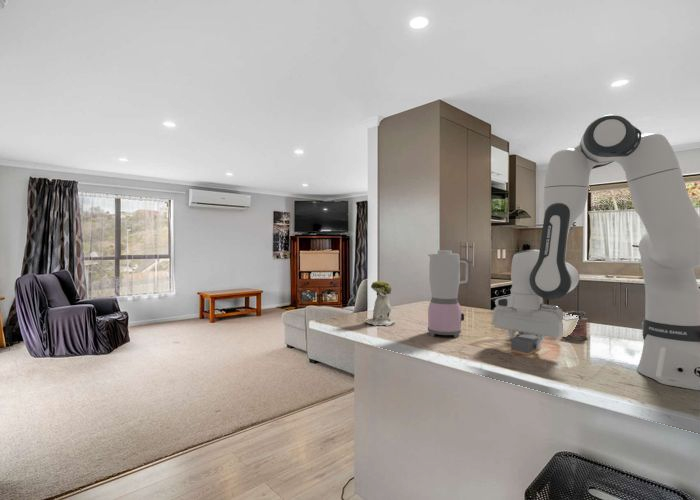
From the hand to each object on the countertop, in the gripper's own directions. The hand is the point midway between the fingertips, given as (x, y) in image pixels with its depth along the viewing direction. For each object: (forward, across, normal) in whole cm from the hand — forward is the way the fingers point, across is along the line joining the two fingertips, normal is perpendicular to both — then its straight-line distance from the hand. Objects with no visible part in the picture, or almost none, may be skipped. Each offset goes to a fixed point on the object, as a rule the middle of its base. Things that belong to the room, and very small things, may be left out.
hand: (525, 346), depth 115 cm
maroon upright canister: (+3, -3, -34) cm, 34 cm away
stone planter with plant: (+3, +62, 0) cm, 62 cm away
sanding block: (+1, 0, 0) cm, 1 cm away
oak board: (+3, +6, 0) cm, 7 cm away
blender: (+3, +31, -5) cm, 32 cm away
